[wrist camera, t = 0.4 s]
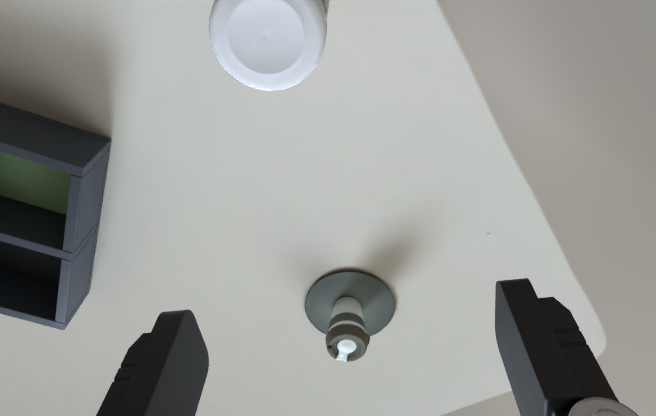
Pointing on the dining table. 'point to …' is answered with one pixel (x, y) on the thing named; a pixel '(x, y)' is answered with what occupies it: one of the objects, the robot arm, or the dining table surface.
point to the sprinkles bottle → (268, 39)
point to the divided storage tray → (48, 215)
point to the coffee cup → (349, 311)
